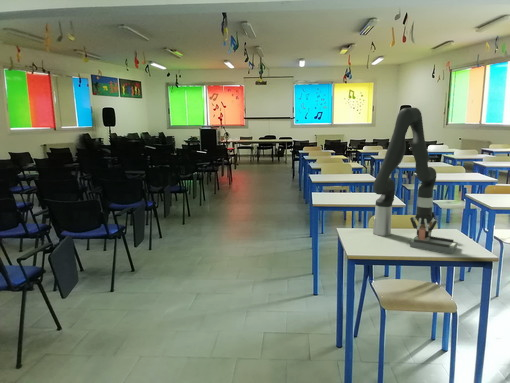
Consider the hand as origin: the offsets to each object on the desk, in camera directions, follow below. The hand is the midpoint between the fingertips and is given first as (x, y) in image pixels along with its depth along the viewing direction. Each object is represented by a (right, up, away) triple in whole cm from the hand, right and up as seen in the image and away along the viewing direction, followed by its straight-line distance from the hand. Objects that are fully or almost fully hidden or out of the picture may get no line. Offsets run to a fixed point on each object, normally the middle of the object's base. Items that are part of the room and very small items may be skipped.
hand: (422, 236), depth 205 cm
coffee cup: (+8, -2, +15) cm, 17 cm away
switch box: (+4, -5, -2) cm, 7 cm away
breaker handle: (0, -1, 0) cm, 1 cm away
